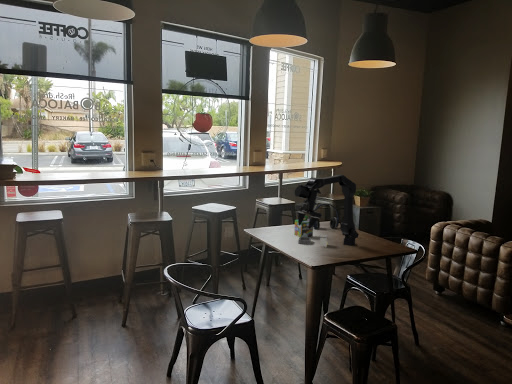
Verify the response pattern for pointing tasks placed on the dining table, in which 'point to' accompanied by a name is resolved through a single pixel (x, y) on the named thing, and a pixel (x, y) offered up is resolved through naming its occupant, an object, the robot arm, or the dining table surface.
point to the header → (304, 240)
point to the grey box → (323, 240)
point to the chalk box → (303, 228)
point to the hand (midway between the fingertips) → (304, 226)
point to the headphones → (333, 222)
